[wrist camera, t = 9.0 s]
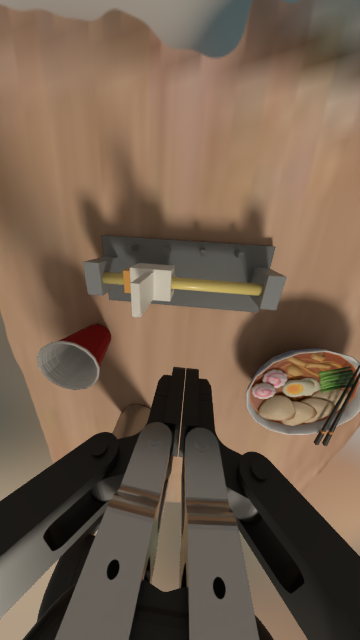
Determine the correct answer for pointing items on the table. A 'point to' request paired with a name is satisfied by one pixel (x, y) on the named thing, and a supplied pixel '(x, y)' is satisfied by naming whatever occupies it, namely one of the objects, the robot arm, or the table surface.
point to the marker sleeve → (150, 285)
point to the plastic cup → (75, 358)
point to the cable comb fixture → (191, 272)
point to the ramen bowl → (305, 392)
